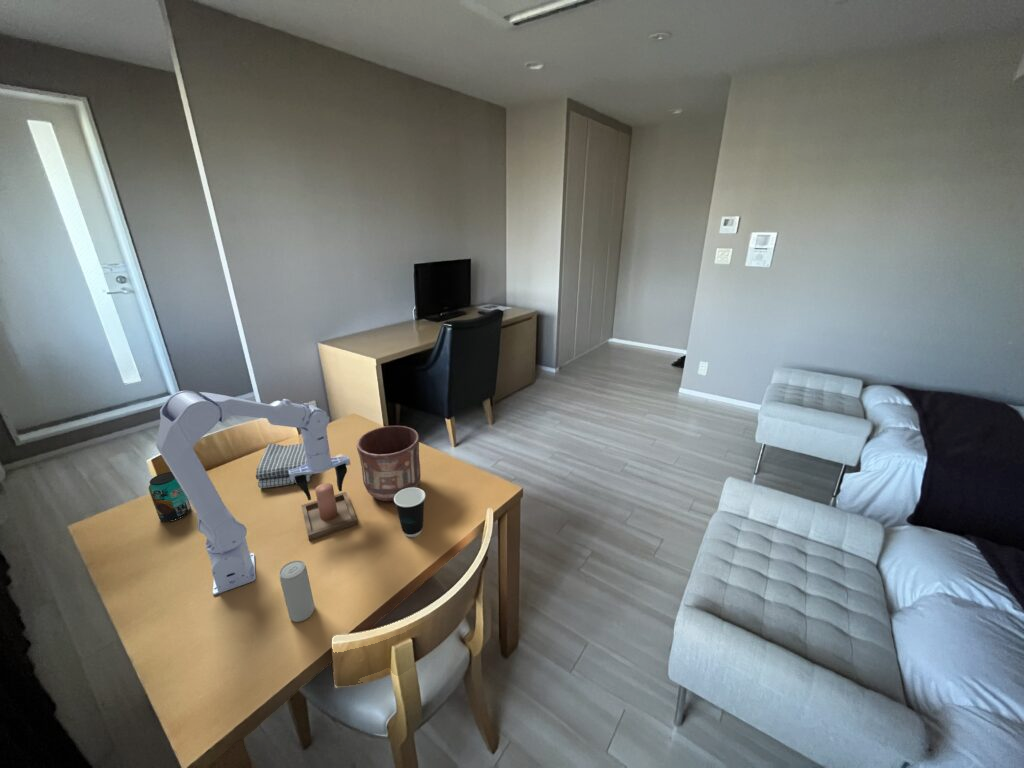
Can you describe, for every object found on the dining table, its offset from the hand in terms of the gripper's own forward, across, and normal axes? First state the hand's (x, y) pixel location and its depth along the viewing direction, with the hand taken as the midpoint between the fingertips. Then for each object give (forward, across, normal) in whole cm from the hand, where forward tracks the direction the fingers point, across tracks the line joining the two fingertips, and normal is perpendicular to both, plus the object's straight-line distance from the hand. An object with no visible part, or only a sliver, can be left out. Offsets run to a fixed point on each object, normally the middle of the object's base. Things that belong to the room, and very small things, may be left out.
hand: (324, 493), depth 110 cm
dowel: (+7, 0, 0) cm, 7 cm away
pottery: (+8, -19, -3) cm, 21 cm away
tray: (+8, 0, 0) cm, 8 cm away
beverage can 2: (+8, +10, +29) cm, 32 cm away
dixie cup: (+8, -18, +17) cm, 26 cm away
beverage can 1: (+8, +36, -23) cm, 43 cm away
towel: (+8, +7, -30) cm, 32 cm away
